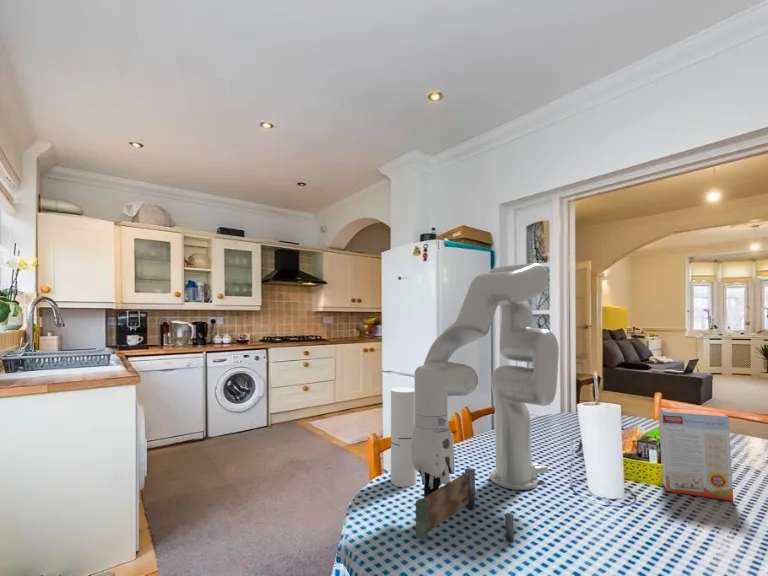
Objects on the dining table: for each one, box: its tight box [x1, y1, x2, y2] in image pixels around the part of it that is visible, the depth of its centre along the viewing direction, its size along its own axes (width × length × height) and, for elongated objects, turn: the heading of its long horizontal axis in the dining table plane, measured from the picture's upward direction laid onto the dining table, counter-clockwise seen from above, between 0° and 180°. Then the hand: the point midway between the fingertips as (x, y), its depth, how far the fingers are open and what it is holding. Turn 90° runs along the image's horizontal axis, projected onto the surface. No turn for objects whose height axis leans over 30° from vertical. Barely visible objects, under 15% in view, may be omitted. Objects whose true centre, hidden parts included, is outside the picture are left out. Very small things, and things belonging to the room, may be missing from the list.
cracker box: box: [658, 406, 734, 502], centre depth 104 cm, size 14×6×21 cm, turn 65°
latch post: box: [504, 512, 515, 544], centre depth 81 cm, size 2×2×5 cm
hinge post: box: [464, 467, 476, 510], centre depth 96 cm, size 2×2×8 cm
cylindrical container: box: [390, 386, 418, 488], centre depth 110 cm, size 7×7×25 cm
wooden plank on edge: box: [415, 473, 469, 541], centre depth 87 cm, size 19×2×7 cm, turn 139°
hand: (431, 503), depth 90 cm, fingers closed
